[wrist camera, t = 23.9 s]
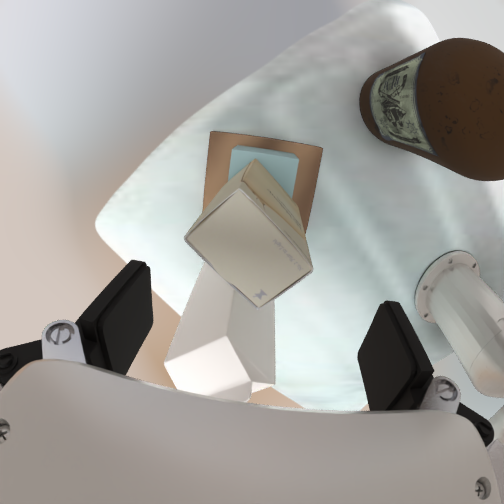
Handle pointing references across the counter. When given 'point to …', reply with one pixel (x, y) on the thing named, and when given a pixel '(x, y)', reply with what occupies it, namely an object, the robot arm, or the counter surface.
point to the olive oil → (443, 106)
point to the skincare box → (253, 236)
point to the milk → (222, 342)
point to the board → (226, 142)
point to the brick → (267, 164)
